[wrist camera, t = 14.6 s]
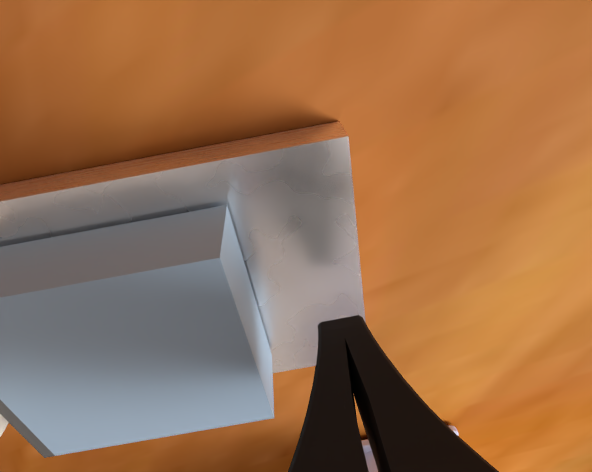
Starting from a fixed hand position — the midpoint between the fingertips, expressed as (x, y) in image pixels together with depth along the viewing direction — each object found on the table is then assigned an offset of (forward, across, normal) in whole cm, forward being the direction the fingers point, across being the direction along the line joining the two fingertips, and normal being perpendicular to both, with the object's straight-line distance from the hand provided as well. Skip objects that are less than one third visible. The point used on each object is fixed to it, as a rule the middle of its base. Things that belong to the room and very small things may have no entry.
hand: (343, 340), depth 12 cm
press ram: (+2, +7, -1) cm, 7 cm away
